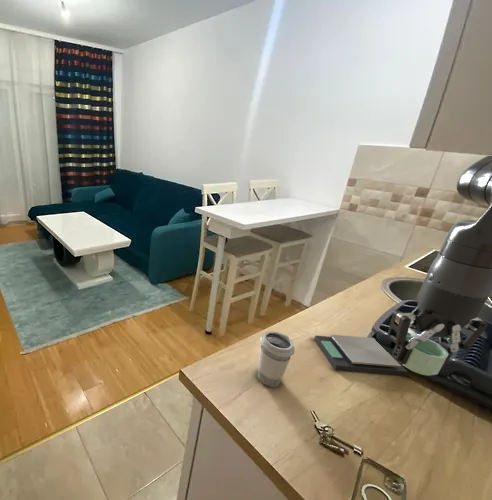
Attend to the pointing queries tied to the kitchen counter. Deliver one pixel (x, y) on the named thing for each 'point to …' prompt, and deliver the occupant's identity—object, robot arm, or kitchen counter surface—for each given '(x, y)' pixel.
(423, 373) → the bowl
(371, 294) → the kitchen counter surface
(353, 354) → the scale pan
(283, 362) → the cup
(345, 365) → the scale
